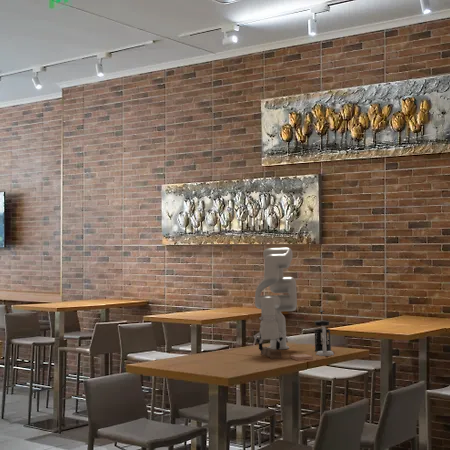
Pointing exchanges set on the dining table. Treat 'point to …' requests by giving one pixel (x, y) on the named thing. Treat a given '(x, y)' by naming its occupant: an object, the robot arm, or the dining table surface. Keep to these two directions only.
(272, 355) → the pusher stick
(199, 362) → the dining table surface
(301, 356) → the tile
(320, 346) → the french press
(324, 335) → the black and grey stand
